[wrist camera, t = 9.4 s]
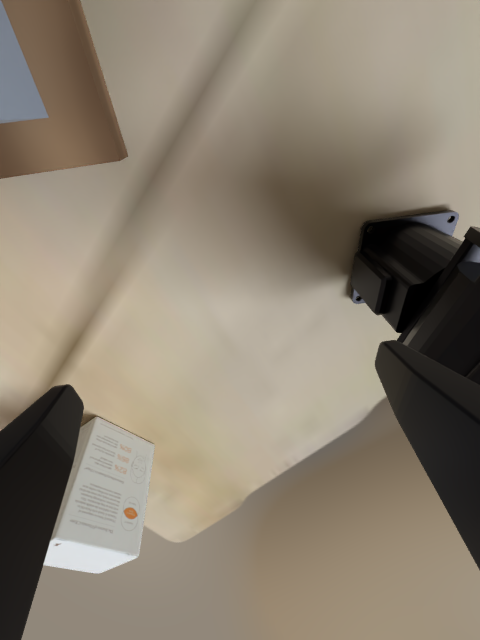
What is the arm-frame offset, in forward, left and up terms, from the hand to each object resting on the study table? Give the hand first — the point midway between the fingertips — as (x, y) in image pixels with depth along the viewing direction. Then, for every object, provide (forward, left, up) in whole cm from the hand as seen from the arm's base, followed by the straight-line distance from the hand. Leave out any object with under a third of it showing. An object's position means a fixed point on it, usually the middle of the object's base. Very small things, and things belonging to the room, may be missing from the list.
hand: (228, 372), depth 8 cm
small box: (+15, +22, -13) cm, 30 cm away
